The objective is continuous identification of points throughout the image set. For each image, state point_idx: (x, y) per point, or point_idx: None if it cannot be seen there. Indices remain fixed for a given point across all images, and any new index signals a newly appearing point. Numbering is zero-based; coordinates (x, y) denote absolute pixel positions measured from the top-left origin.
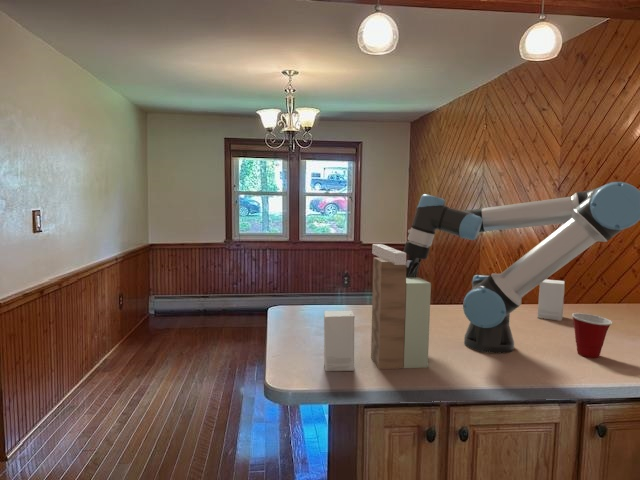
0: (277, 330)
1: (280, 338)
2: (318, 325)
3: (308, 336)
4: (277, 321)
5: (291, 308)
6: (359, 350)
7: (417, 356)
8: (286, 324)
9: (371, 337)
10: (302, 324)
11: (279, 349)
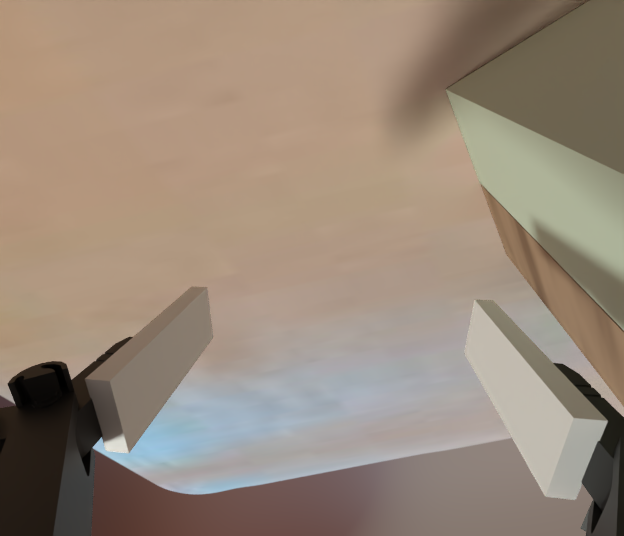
0: (344, 462)
1: (399, 448)
2: (256, 421)
3: (358, 417)
4: (281, 474)
5: (170, 478)
6: (434, 300)
7: None
8: (291, 461)
9: (547, 305)
10: (271, 443)
11: (480, 433)
